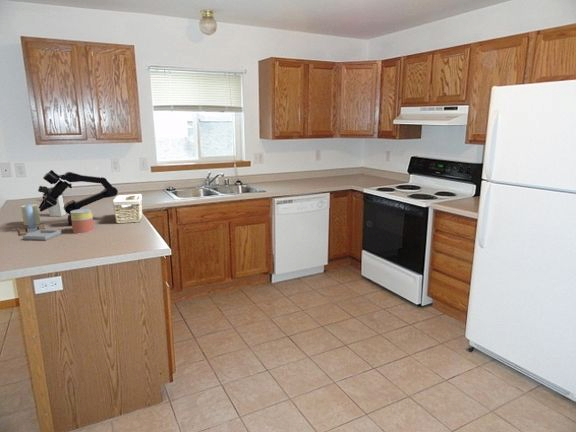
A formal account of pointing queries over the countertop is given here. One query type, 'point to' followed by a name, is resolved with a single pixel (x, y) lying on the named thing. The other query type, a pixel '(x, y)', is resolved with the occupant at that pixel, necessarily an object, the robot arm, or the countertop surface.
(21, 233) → the slot
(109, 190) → the robot arm
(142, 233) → the countertop surface
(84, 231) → the canned food
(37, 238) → the tray
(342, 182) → the countertop surface
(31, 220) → the tall blue pillar
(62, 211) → the skincare box
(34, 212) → the can
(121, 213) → the storage basket
